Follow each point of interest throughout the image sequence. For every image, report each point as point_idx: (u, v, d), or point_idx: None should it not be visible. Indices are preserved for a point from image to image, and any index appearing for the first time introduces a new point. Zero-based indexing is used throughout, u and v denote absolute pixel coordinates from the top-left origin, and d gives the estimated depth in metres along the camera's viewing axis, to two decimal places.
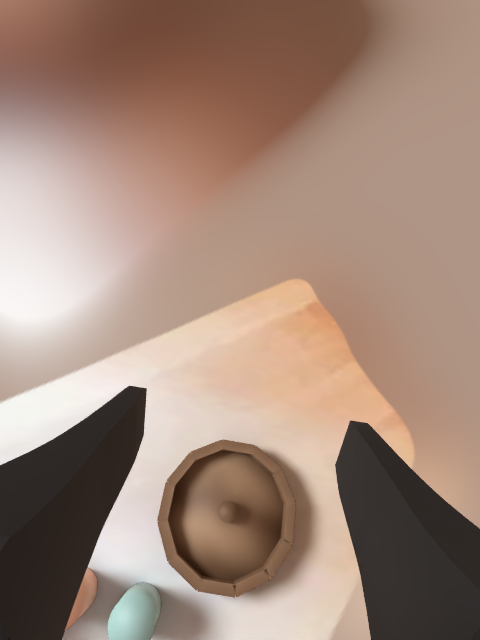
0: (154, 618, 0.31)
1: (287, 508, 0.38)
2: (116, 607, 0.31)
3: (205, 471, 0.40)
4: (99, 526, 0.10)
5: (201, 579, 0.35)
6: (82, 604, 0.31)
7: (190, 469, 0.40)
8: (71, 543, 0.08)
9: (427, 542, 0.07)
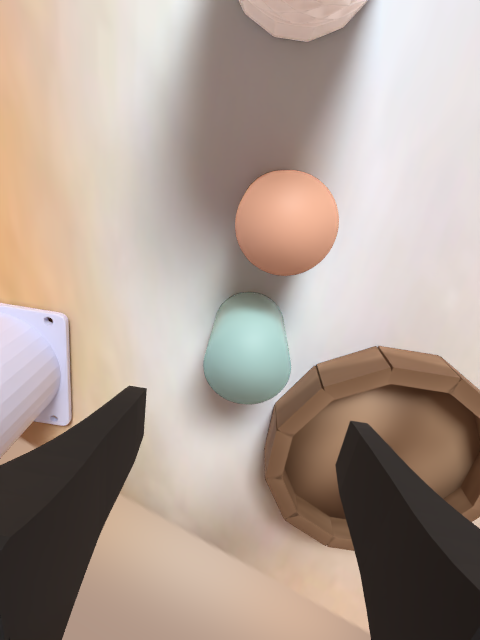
0: (253, 402, 0.17)
1: None
2: (273, 339, 0.16)
3: (450, 424, 0.22)
4: (99, 526, 0.10)
5: (291, 435, 0.21)
6: None
7: (460, 401, 0.21)
8: (71, 543, 0.08)
9: (427, 543, 0.07)
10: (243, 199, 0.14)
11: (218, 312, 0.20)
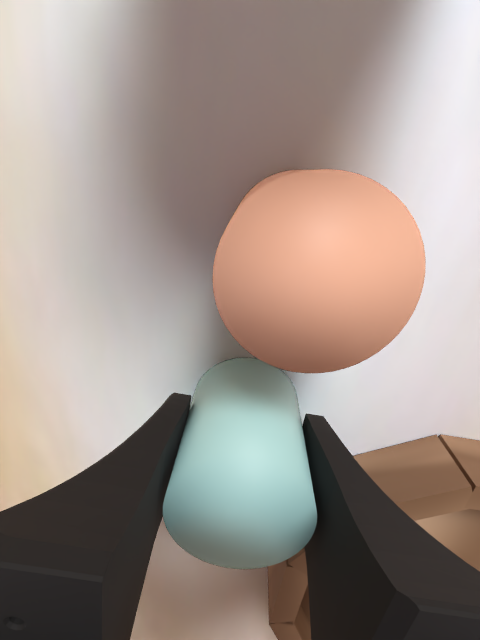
0: (250, 566, 0.10)
1: None
2: (286, 477, 0.09)
3: None
4: (154, 534, 0.10)
5: None
6: None
7: None
8: (140, 553, 0.08)
9: (354, 531, 0.07)
10: (228, 230, 0.07)
11: (197, 390, 0.13)
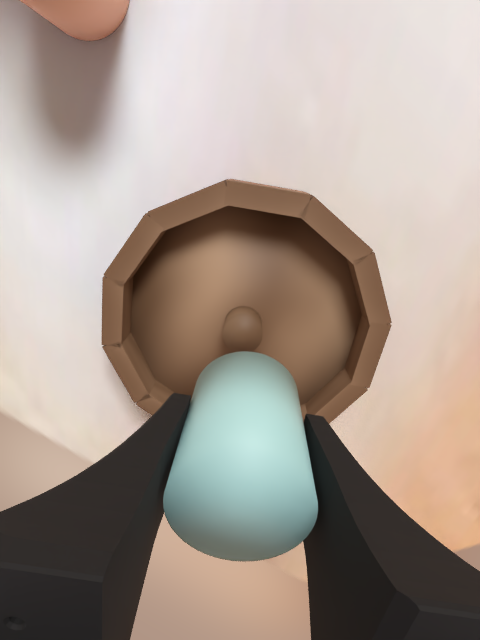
0: (254, 558, 0.10)
1: None
2: (284, 465, 0.09)
3: (322, 279, 0.18)
4: (154, 534, 0.10)
5: (122, 284, 0.17)
6: None
7: (329, 246, 0.18)
8: (140, 553, 0.08)
9: (354, 531, 0.07)
10: None
11: (196, 386, 0.13)
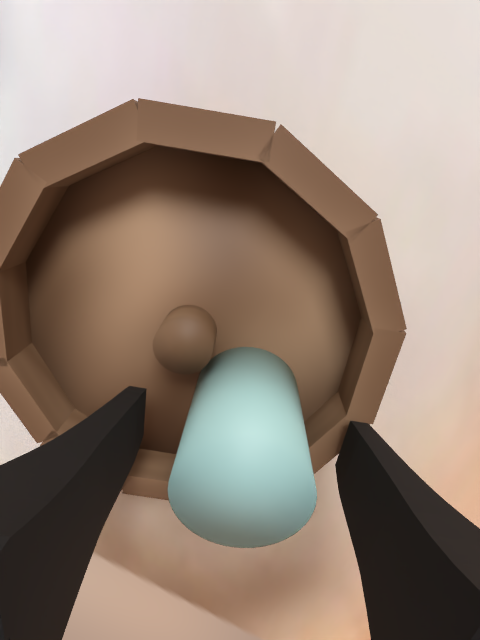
0: (255, 544, 0.10)
1: None
2: (284, 454, 0.09)
3: (301, 264, 0.12)
4: (99, 526, 0.10)
5: None
6: None
7: (311, 214, 0.12)
8: (71, 543, 0.08)
9: (427, 543, 0.07)
10: None
11: (198, 380, 0.13)
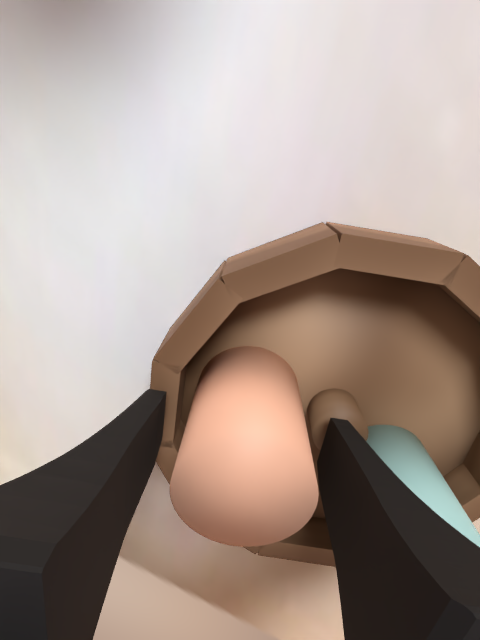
0: None
1: (332, 552, 0.15)
2: None
3: (447, 356, 0.13)
4: (124, 530, 0.10)
5: (179, 370, 0.12)
6: None
7: (463, 314, 0.13)
8: (102, 548, 0.08)
9: (395, 538, 0.07)
10: (177, 469, 0.10)
11: None
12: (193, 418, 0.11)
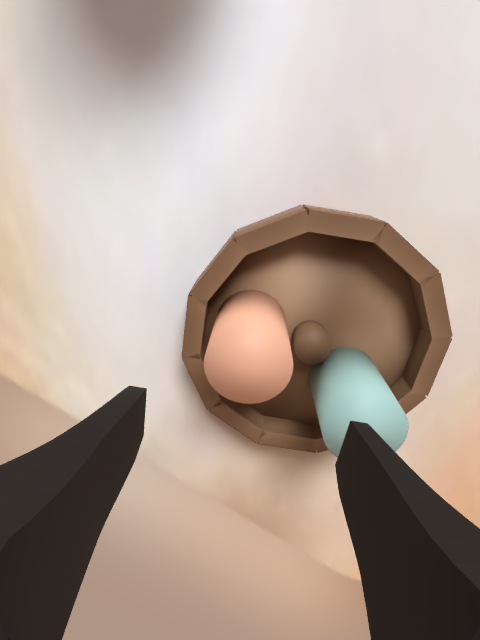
0: None
1: (310, 440, 0.22)
2: (393, 405, 0.17)
3: (385, 296, 0.20)
4: (99, 526, 0.10)
5: (205, 302, 0.19)
6: None
7: (394, 266, 0.19)
8: (71, 543, 0.08)
9: (427, 543, 0.07)
10: (208, 348, 0.16)
11: (316, 367, 0.21)
12: (216, 325, 0.17)
